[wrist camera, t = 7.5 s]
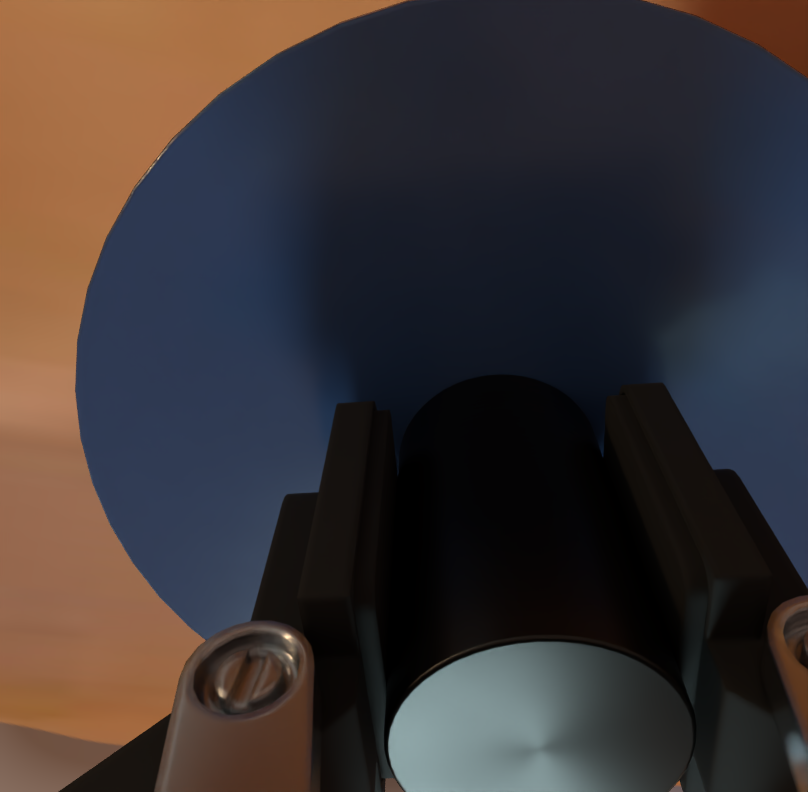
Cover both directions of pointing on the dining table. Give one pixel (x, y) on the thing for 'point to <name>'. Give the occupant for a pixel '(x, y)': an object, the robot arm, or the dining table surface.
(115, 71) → the dining table surface
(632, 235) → the pot lid
